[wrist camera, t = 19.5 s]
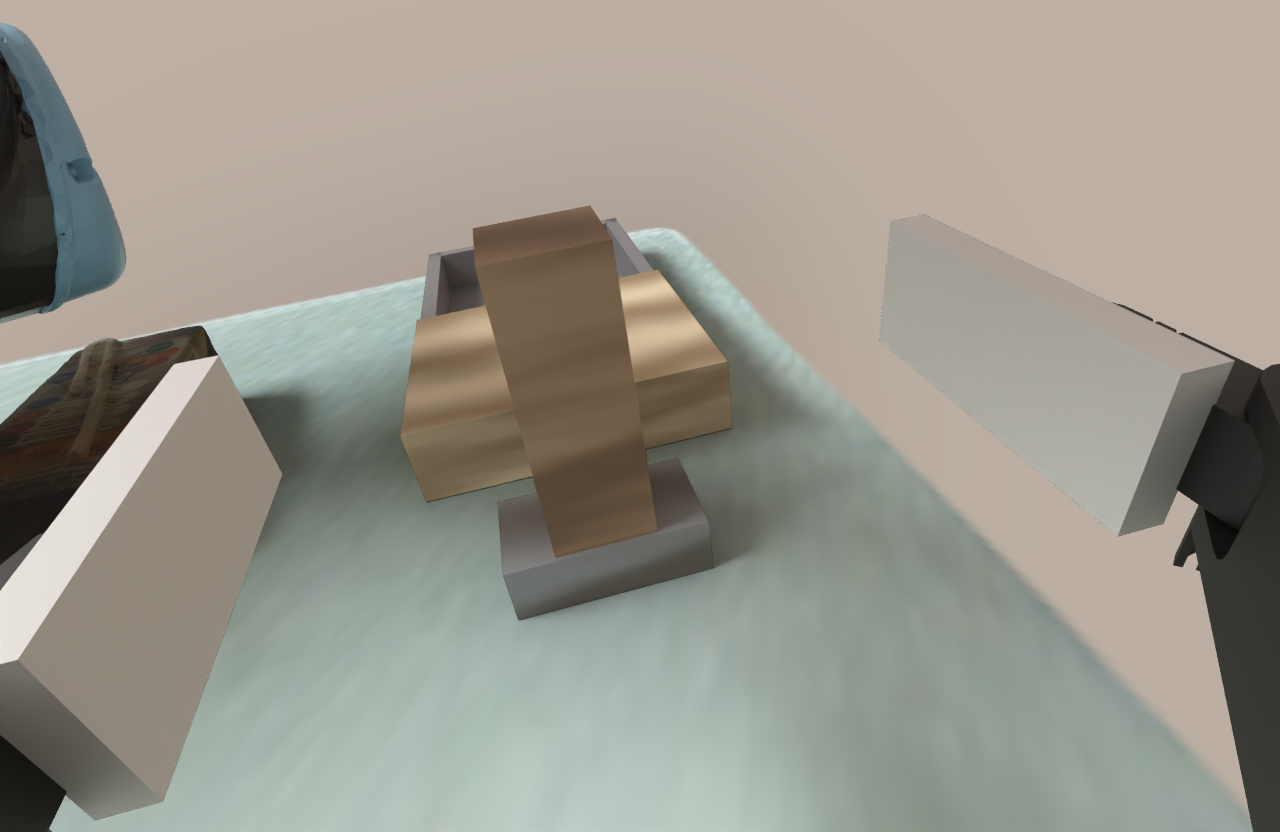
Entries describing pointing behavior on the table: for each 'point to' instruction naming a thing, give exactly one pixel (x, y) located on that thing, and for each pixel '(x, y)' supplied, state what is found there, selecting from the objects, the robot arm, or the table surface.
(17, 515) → the beverage carton
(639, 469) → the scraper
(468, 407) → the board
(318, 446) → the table surface
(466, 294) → the tray
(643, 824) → the table surface
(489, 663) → the table surface
